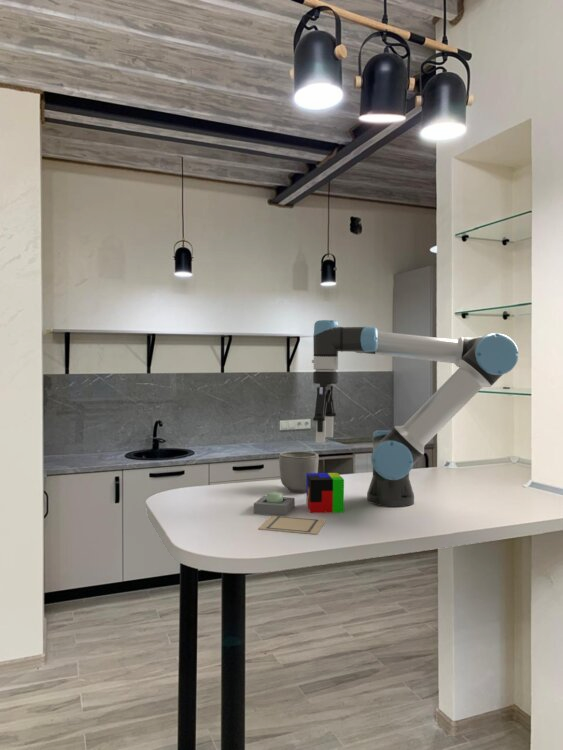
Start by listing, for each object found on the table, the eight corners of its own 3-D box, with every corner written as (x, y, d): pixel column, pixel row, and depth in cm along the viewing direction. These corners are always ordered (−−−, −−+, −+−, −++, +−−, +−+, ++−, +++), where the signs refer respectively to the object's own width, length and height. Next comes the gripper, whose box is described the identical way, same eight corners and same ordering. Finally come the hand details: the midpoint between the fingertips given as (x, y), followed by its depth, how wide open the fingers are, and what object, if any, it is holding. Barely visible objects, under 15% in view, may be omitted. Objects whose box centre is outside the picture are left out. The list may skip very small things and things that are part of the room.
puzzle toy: (306, 504, 174) (306, 473, 174) (337, 504, 175) (337, 472, 174) (310, 513, 164) (310, 479, 164) (343, 512, 165) (343, 479, 165)
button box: (294, 507, 170) (294, 497, 170) (286, 516, 160) (286, 505, 160) (263, 505, 172) (263, 495, 172) (253, 513, 163) (253, 503, 163)
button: (284, 503, 168) (284, 492, 168) (280, 507, 163) (280, 496, 163) (269, 502, 169) (269, 491, 169) (264, 506, 164) (264, 495, 164)
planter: (272, 493, 188) (272, 455, 188) (287, 485, 201) (287, 449, 201) (310, 497, 183) (311, 458, 183) (323, 488, 196) (323, 452, 196)
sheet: (325, 520, 156) (325, 519, 155) (316, 534, 143) (316, 533, 143) (271, 516, 160) (271, 515, 160) (258, 529, 147) (258, 528, 147)
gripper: (321, 370, 181) (320, 434, 182) (304, 371, 157) (303, 444, 158) (343, 370, 180) (343, 435, 180) (330, 371, 155) (329, 446, 156)
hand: (324, 439), depth 169 cm, fingers open, 13 cm apart
